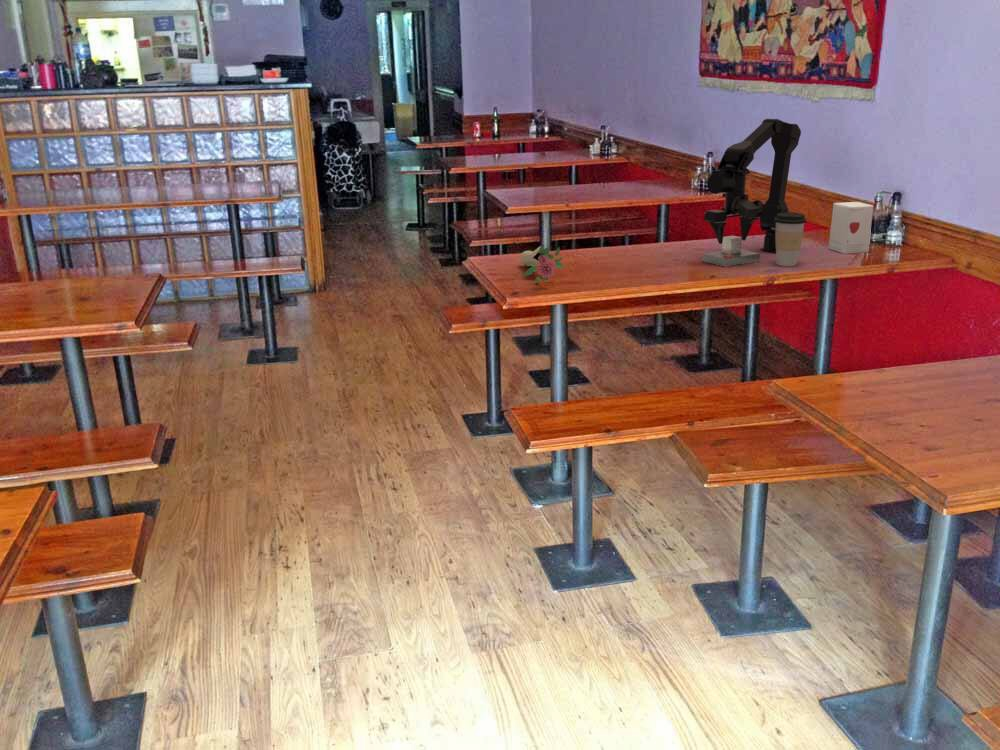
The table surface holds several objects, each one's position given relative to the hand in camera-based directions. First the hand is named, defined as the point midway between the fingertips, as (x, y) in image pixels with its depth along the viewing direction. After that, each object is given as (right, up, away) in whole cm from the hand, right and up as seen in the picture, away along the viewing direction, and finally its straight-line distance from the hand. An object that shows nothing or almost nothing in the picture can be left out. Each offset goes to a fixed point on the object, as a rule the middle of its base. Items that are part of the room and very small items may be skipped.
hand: (732, 242), depth 285 cm
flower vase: (-60, -13, -15) cm, 63 cm away
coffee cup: (+16, -7, -3) cm, 18 cm away
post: (0, -6, +2) cm, 6 cm away
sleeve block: (0, -6, +2) cm, 6 cm away
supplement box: (+41, -1, +14) cm, 43 cm away
